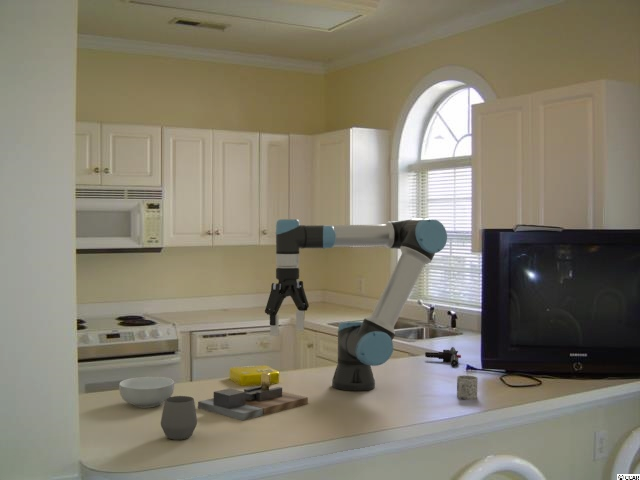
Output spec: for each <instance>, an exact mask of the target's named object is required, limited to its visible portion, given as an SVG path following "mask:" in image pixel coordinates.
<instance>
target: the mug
mask: <svg viewBox="0 0 640 480" xmlns="http://www.w3.org/2000/svg"><path fill="white" fill-rule="evenodd" d="M456 378H457V379H456V398H458V399H462V400H476V399H477V398H478V377H476V376H473V375H466V374H465V375H464V374H463V375H458V376H457V377H456Z"/></svg>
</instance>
